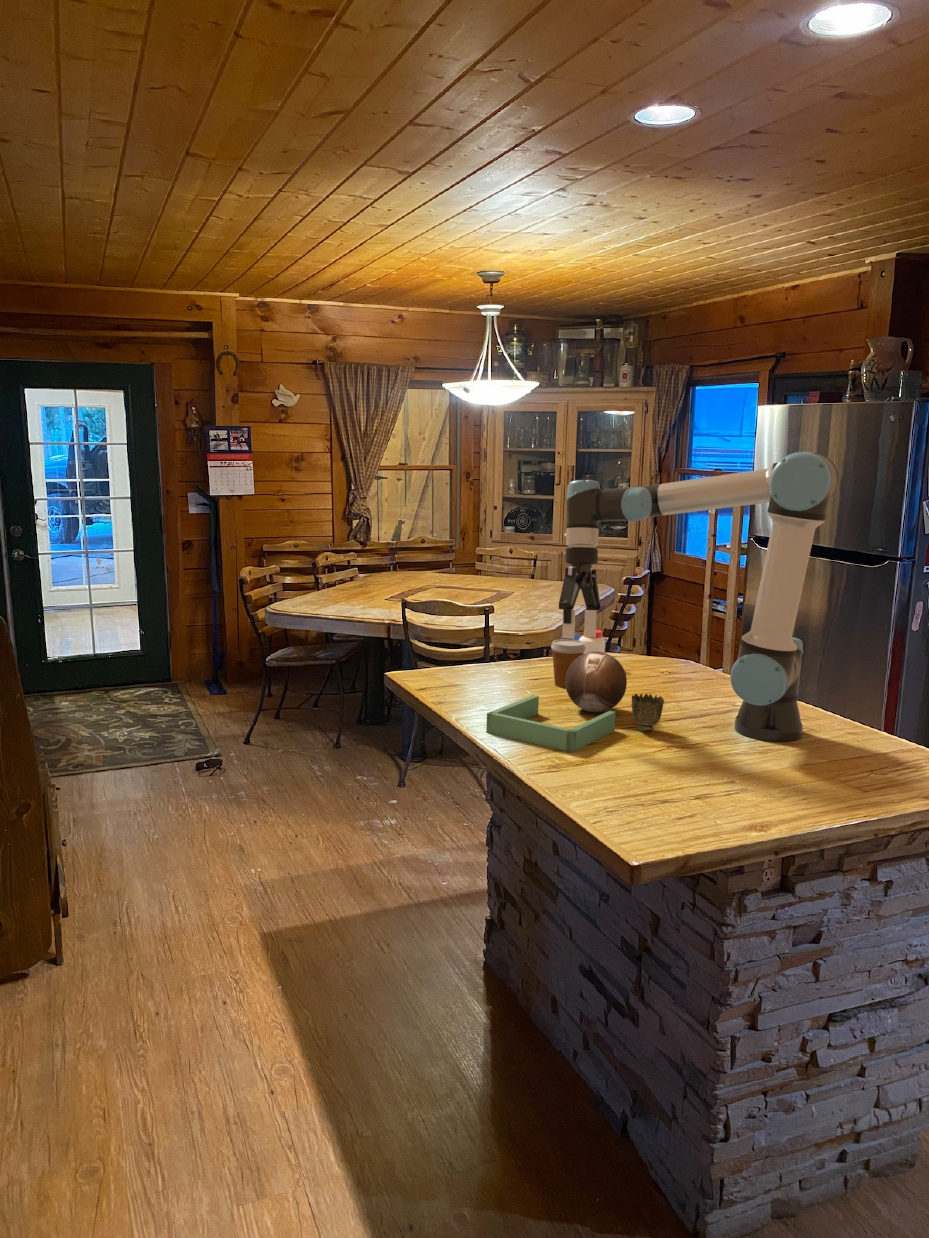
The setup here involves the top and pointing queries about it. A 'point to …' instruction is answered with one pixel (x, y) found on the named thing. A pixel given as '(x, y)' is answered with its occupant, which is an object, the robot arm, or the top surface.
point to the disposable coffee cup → (565, 657)
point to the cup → (647, 711)
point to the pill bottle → (594, 643)
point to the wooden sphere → (596, 682)
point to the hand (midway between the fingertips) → (579, 637)
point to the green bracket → (546, 727)
